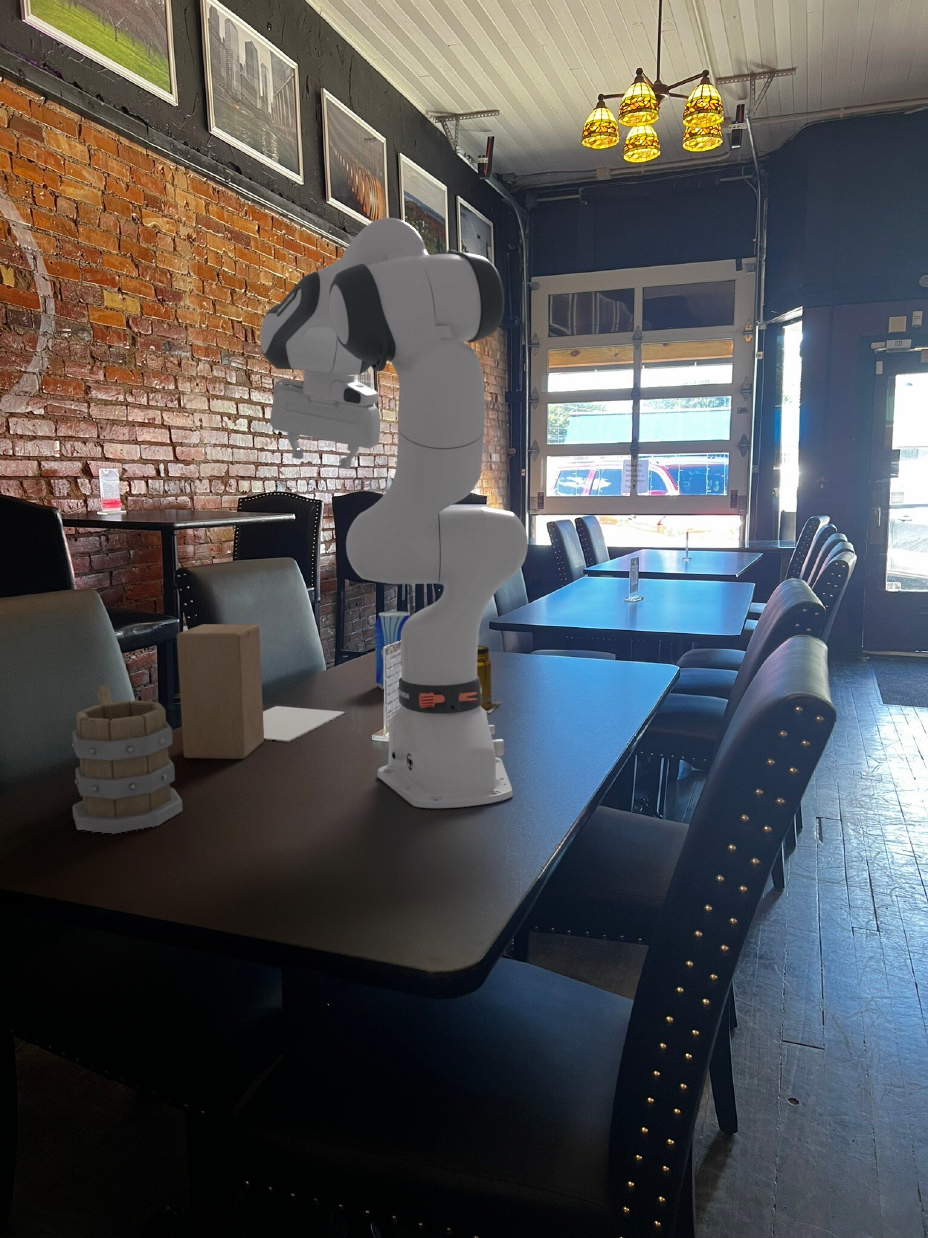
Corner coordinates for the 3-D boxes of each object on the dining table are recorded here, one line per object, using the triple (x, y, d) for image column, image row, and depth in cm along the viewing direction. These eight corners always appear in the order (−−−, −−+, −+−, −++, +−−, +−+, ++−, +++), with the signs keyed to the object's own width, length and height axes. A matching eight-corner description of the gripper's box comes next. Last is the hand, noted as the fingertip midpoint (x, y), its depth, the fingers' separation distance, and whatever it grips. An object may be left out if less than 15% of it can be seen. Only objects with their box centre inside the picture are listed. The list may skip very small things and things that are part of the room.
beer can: (410, 692, 178) (409, 616, 176) (371, 691, 179) (369, 616, 177) (419, 683, 186) (417, 611, 184) (381, 682, 188) (379, 610, 185)
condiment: (453, 711, 162) (452, 649, 160) (466, 701, 170) (465, 642, 168) (489, 714, 160) (489, 651, 158) (501, 703, 168) (501, 643, 166)
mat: (288, 742, 142) (288, 740, 142) (213, 734, 148) (213, 733, 148) (345, 713, 161) (344, 711, 161) (276, 707, 166) (276, 706, 166)
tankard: (189, 821, 108) (182, 706, 106) (80, 842, 102) (71, 719, 100) (159, 777, 125) (153, 677, 123) (65, 792, 119) (56, 687, 117)
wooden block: (265, 741, 143) (259, 623, 140) (244, 760, 133) (238, 633, 130) (207, 740, 144) (201, 623, 141) (182, 758, 134) (175, 633, 131)
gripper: (266, 377, 151) (261, 454, 156) (375, 397, 147) (366, 476, 152) (282, 375, 157) (277, 450, 161) (387, 395, 153) (378, 471, 158)
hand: (321, 463), depth 157 cm, fingers open, 8 cm apart
